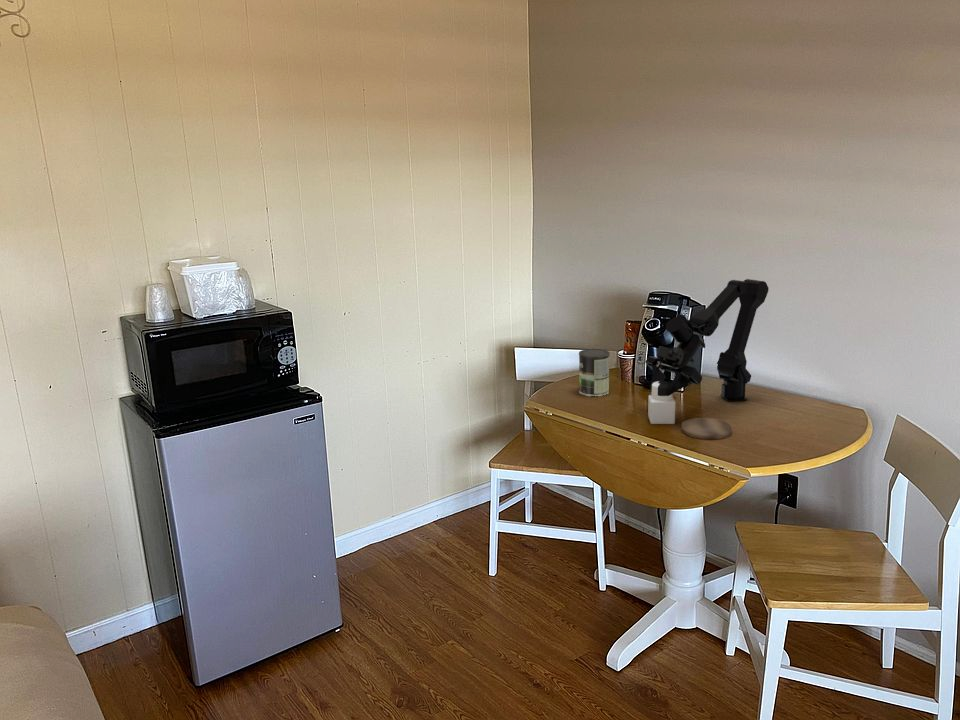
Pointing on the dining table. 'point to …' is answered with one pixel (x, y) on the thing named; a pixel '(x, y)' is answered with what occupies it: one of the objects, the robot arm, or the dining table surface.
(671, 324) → the robot arm
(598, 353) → the coffee can
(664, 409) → the medicine bottle
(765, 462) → the dining table surface
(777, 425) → the dining table surface
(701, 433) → the brown flat disc
